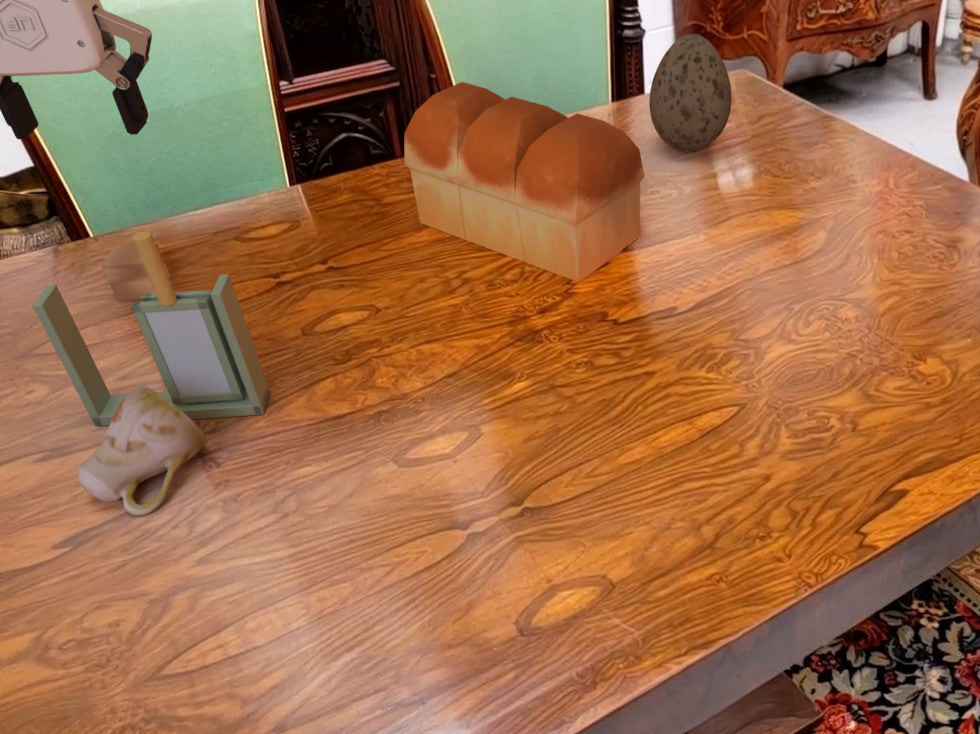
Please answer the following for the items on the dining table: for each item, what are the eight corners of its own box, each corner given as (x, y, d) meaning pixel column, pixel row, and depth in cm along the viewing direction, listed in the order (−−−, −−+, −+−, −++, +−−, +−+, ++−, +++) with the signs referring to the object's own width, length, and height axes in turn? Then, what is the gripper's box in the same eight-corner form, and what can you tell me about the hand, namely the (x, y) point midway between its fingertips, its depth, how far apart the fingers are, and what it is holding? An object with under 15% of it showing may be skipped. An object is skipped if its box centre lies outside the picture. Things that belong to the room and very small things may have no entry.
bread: (645, 237, 109) (643, 113, 100) (580, 284, 102) (571, 156, 92) (485, 183, 120) (470, 67, 110) (415, 223, 113) (392, 102, 103)
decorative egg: (721, 169, 122) (727, 52, 113) (641, 161, 124) (640, 46, 115) (734, 135, 130) (741, 23, 120) (659, 129, 132) (659, 18, 122)
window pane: (172, 407, 84) (98, 241, 73) (176, 397, 85) (104, 233, 74) (242, 402, 85) (179, 237, 74) (245, 392, 86) (184, 228, 75)
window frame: (95, 426, 85) (31, 305, 76) (106, 404, 87) (46, 284, 78) (264, 414, 86) (220, 294, 77) (270, 393, 88) (229, 273, 79)
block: (117, 301, 100) (101, 265, 98) (130, 279, 104) (115, 244, 101) (159, 298, 101) (144, 262, 98) (170, 277, 104) (156, 241, 101)
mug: (64, 500, 78) (61, 382, 76) (182, 485, 85) (183, 377, 83) (100, 524, 73) (98, 398, 71) (222, 506, 81) (223, 392, 79)
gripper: (-148, -66, 70) (-35, 152, 81) (89, -73, 70) (168, 144, 82) (-95, -89, 75) (3, 118, 87) (124, -96, 76) (193, 110, 87)
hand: (83, 130), depth 84 cm, fingers open, 9 cm apart
